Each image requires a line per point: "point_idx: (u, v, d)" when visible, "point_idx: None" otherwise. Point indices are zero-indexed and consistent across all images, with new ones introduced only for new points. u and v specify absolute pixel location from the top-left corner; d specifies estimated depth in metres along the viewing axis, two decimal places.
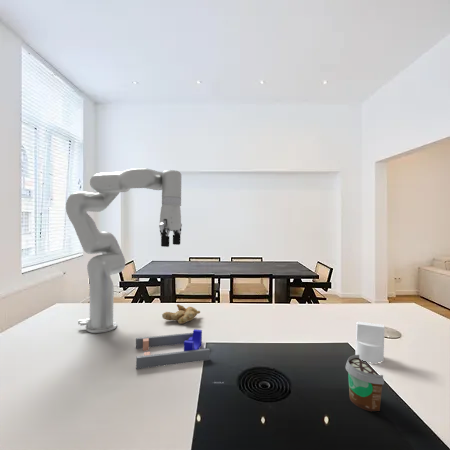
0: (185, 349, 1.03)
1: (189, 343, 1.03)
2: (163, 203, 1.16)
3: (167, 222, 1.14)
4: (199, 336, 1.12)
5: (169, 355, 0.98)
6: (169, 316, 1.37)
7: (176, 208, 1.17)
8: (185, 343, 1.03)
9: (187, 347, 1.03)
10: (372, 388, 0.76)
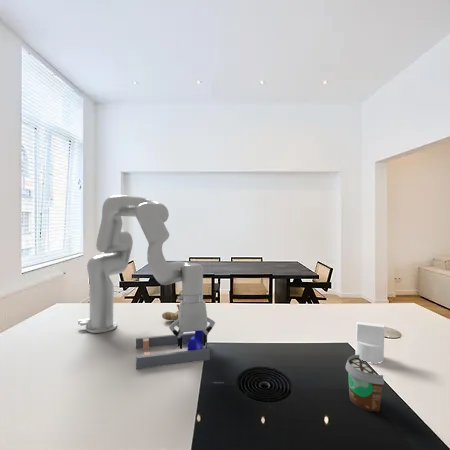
0: (189, 349, 1.03)
1: (193, 342, 1.02)
2: (202, 300, 1.08)
3: None
4: (201, 335, 1.12)
5: (169, 355, 0.98)
6: (169, 316, 1.37)
7: None
8: (189, 343, 1.03)
9: (191, 347, 1.02)
10: (372, 388, 0.76)
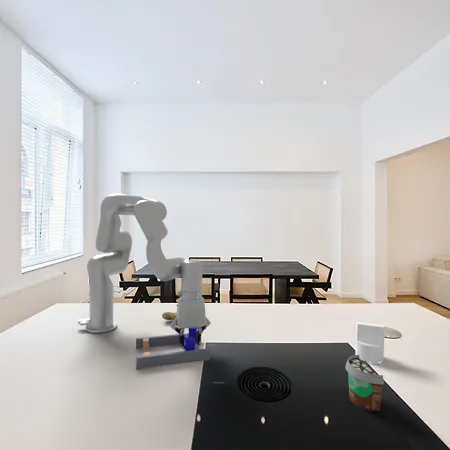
0: (187, 346, 1.03)
1: (191, 340, 1.03)
2: (201, 297, 1.08)
3: None
4: (195, 333, 1.13)
5: (169, 355, 0.98)
6: (168, 316, 1.37)
7: None
8: (187, 340, 1.03)
9: (189, 344, 1.03)
10: (372, 388, 0.76)
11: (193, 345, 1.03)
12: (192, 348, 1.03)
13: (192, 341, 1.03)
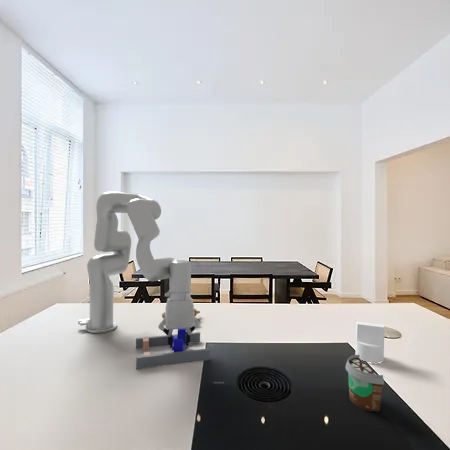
0: (175, 348, 1.02)
1: (179, 341, 1.02)
2: (189, 297, 1.06)
3: None
4: (184, 334, 1.12)
5: (169, 355, 0.98)
6: None
7: None
8: (175, 342, 1.02)
9: (177, 346, 1.02)
10: (372, 388, 0.76)
11: (181, 346, 1.02)
12: (180, 349, 1.02)
13: (180, 342, 1.02)
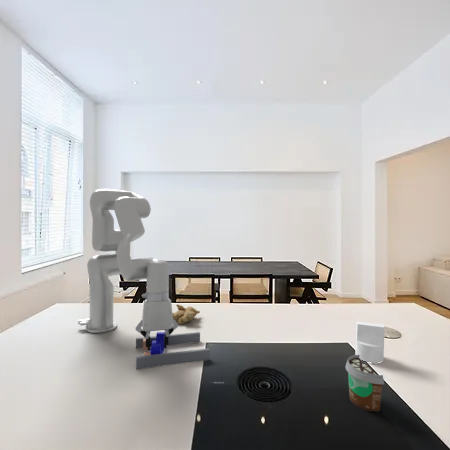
0: (152, 353, 0.99)
1: (157, 346, 0.99)
2: (167, 298, 1.04)
3: None
4: (163, 338, 1.10)
5: (169, 355, 0.98)
6: None
7: None
8: (152, 347, 0.99)
9: (155, 351, 0.99)
10: (372, 388, 0.76)
11: (159, 351, 1.00)
12: None
13: (158, 347, 0.99)
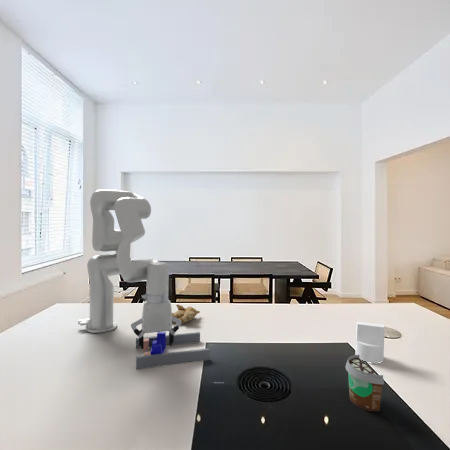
0: (153, 353, 0.99)
1: (157, 347, 0.99)
2: (167, 300, 1.04)
3: None
4: (164, 339, 1.10)
5: (169, 355, 0.98)
6: None
7: None
8: (153, 347, 0.99)
9: (156, 351, 0.99)
10: (372, 388, 0.76)
11: (160, 352, 0.99)
12: None
13: (159, 348, 0.99)
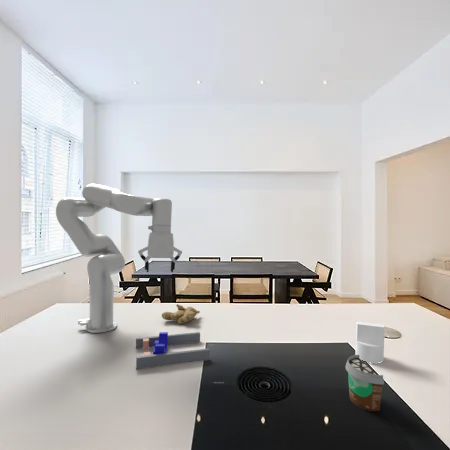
0: (156, 353, 0.99)
1: (160, 346, 0.99)
2: (169, 231, 1.20)
3: None
4: (166, 338, 1.10)
5: (169, 355, 0.98)
6: (168, 316, 1.37)
7: None
8: (156, 347, 0.99)
9: (159, 351, 0.99)
10: (372, 388, 0.76)
11: (163, 352, 1.00)
12: None
13: (162, 347, 0.99)
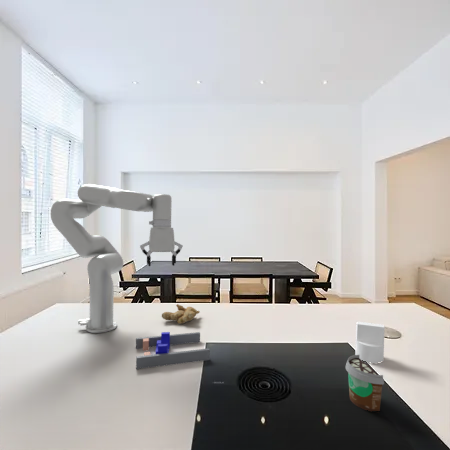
0: (159, 353, 0.99)
1: (164, 346, 0.99)
2: (170, 226, 1.23)
3: None
4: (168, 338, 1.10)
5: (169, 355, 0.98)
6: (168, 316, 1.37)
7: None
8: (159, 347, 0.99)
9: (162, 351, 0.99)
10: (372, 388, 0.76)
11: (166, 351, 1.00)
12: None
13: (165, 347, 0.99)
